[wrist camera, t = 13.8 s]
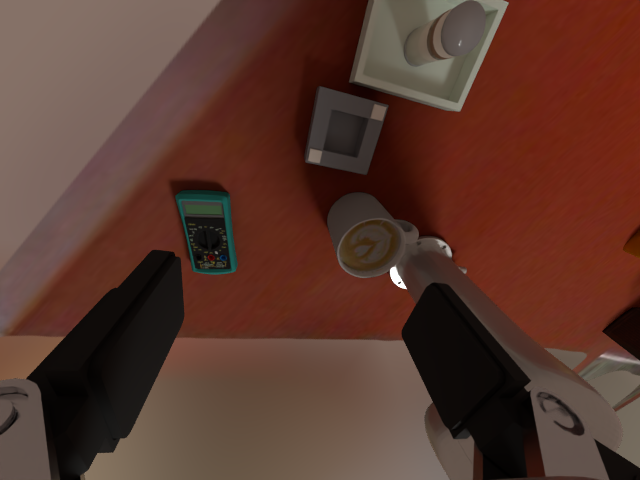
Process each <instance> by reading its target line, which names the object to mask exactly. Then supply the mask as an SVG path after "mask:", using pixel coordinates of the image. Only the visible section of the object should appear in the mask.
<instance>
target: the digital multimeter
mask: <svg viewBox="0 0 640 480" xmlns="http://www.w3.org/2000/svg"><path fill="white" fill-rule="evenodd" d="M175 198H176V202H177V205H178V209H179V212H180V215H181V219H182V222H183V227H184V231H185V235H186V239H187V244H188V249H189V254H190V260H191V266H192V270H193V271H194V272H198V273H204V274H226V273H231V272H235V271H236V268H237V258H236V253H235V246H234V240H233V231H232V221H231V206H230V195H229V193H227V192H220V191H210V190H183V191H180V192H179V193H178V194H177V195H176V196H175ZM225 226H226V227H225ZM228 249H229V250H228Z"/></svg>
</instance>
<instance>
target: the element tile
mask: <svg viewBox="0 0 640 480" xmlns="http://www.w3.org/2000/svg"><path fill="white" fill-rule="evenodd" d="M623 250H624V251H625V252H627V253H629V254H632V255H634V256H636V257H638V258H640V230H639V231H638V232H637V233H636V234H635V235H634V236H633V237H632V238H631V239H630V240H629V241H628V242H627V243H626V244H625V246H624V248H623Z"/></svg>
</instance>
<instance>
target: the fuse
mask: <svg viewBox="0 0 640 480" xmlns="http://www.w3.org/2000/svg"><path fill="white" fill-rule="evenodd" d="M485 25H486V15H485V11H484V8H483V7H482V5H481V4H480V3H479V2H477V1H474V0H468V1H465V2H463V3H461V4H459V5H457V6H456V7H454V8H453V9H450V10H448V11H446V12H445V13H443V14H441V15H440V16H438V17H437V18H435V19H433V20H431V21H430V22H428V23H426V24H424V25H422V26H420V27H418V28H416V29H414V30H413V31H412V32H411V33H410V34H409V35H408V37H407V39H406V41H405V44H404V57H405V60H406V61H407V63H408V64H409V65H411V66H414V67H417V66H421V65H424V64H427V63H431V62H435V61H439V60H445V59H449V58H452V57H455V56H461V55H464V54H467V53H469V52H470V51H471V50H473V49H474V48H475V47H476V45H477V44H478V43H479V41H480V40H481V38H482V35H483V33H484V30H485Z"/></svg>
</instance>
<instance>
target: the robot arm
mask: <svg viewBox="0 0 640 480" xmlns="http://www.w3.org/2000/svg"><path fill="white" fill-rule="evenodd" d="M466 272H467V269H466V268H465V267H461V266H457V265H456V264H455V263H454V262H453V261H452V252H451V249H450V247H449V246H448V245H447V244H446V243H445V242H444V241H443V240H442V239H440V238H438V237H434V236H421V237H418V239H417V241H416V242H415V243H413V244H408V245H406V249H405V252H404V255H403V256H402V258H401V260H400V261H399V263H398V264H397V265H396V266H395V267H393V268H392V269H391V270H389V275H390V277H391V279H392V281H393V282H394V283H395V284H396V285H397V286H399V287H401V288H404V289H407V290H408V292H409V293H410V295H411V297H412V298H413V300H414V301H415V303H416V306H415V307H414V309H413V311H412V313H411V315H410V316H409V318H408V320H407V322H406V323H405V325H404V327H403V329H402V338H403V340H404V342H405V344H406V346H407V348H408V350H409V353H410V355H411V357H412V359H413V361H414V363H415V365H416V367H417V369H418V371H419V373H420V376H421V378H422V380H423V382H424V384H425V386H426V388H427V390H428V393H429V395H430V397H431V399H432V401H433V403H432V404H430V406H429V407H428V408H427V410H426V412H425V416H424V422H425V429H426V433H427V436H428V439H429V441H430V443H431V446H432V448H433V450H434V452H435V454H436V456H437V458H438V460H439V462H440V463H441V465H442V467H443V469H444V470H445V472H446V474H447V475H448V477H449V479H450V480H640V468H639V467H637V466H636V465H634V464H633V463H631V462H630V461H628V460H626V459H625V458H623V457H622V456H620V455H619V454H617V453H616V450H617V449H618V448H619V446H620V444H621V441H622V437H623V430H622V425H621V422H620V420H619V418H618V416H617V414H616V412H615V411H614V410H613V408H612V407H611V406H610V404H609V403H608V402H607V401H606V400H605V399H604V398H603V397H602V396H601V395H600V394H599V393H598V392H597V391H596V390H595V389H594V388H593V387H592V386H591V385H590V384H588V383H587V382H586V381H585V380H584V379H583V378H581V377H580V376H579V375H578V374H576V373H575V372H574V371H572V370H571V369H569V368H568V367H567V366H566V365H565V364H563V363H562V362H561V361H559V360H558V359H557V358H555V357H554V356H553V355H552V354H550V353H549V352H548V351H547V350H545V349H544V348H543V347H542V346H540V345H539V344H538V343H537V342H536V341H534V340H533V339H532V338H531V337H530V336H528V335H527V334H526V333H525V332H524V331H523V330H522V329H521V328H520V327H519V326H518V325H517V324H515V323H514V322H513V321H512V320H511V319H510V318H509V317H508V316H507V315H506V314H505V313H504V312H503V311H502V310H501V309H500V308H499V307H498V306H497V305H496V304H495V303H494V302H493V301H492V300H491V299H490V298H489V297H488V296H487V295H486V294H485V293H484V292H483V291H482V290H481V289H480V288H479V287H478V286H477V285H476V284H475V283H474V282H473V281H472V280H471V279H470V278H469V277H468V276H467V275H466V274H465V273H466ZM183 320H184V302H183V287H182V272H181V259H180V257H175V254H174V252H170V251H161V250H152V251H151V252H150V253H149V254H148V255H147V256H146V257H145V258H144V260H143V261H142V262H141V263H140V264H139V265H138V266H137V267H136V268H135V269H134V271H133V272H132V273H131V274H130V275H129V276H128V277H127V278H126V279H125V280H124V282H123V283H122V284H121V285H120V286H119V287H118V288H114V289H111V290H110V291H109V292H108V293H106V295H105V296H104V297H103V298H102V299H101V300H100V301H99V302H98V303H97V304H96V305H95V306H94V307H93V308H92V309H91V310H90V311H89V313H88V314H87V315H86V316H85V317H84V318H83V319H82V320H81V321H80V322H79V323H78V324H77V325H76V326H75V327H74V328H73V329H72V331H71V332H70V333H69V334H68V335H67V336H66V337H65V338H64V339H63V340H62V341H61V342H60V343H59V344H58V345H57V347H56V348H55V349H54V350H53V351H52V352H51V353H50V354H49V355H48V356H47V357H46V358H45V359H44V360H43V361H42V362H41V363H40V365H39V366H38V367H37V368H36V369H35V370H34V371H33V372H32V373H31V374H30V375H29V376H28V377H27V379H16V378H15V379H9V380H2V381H0V480H85V475H84V473H85V472H86V471H87V470H88V469H89V468H90V466H91V464H92V462H93V460H94V458H95V456H96V455H97V453H109V452H114V450H115V448H116V446H117V444H118V442H119V440H120V438H126V437H127V436H128V435H129V433H130V432H131V430H132V428H133V426H134V424H135V421H136V419H137V417H138V415H139V413H140V411H141V409H142V407H143V405H144V403H145V401H146V399H147V397H148V394H149V392H150V390H151V388H152V386H153V384H154V382H155V379H156V378H157V376H158V373H159V371H160V369H161V367H162V365H163V363H164V361H165V359H166V357H167V355H168V353H169V351H170V348H171V346H172V344H173V342H174V340H175V338H176V336H177V334H178V332H179V330H180V328H181V325H182V323H183Z"/></svg>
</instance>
